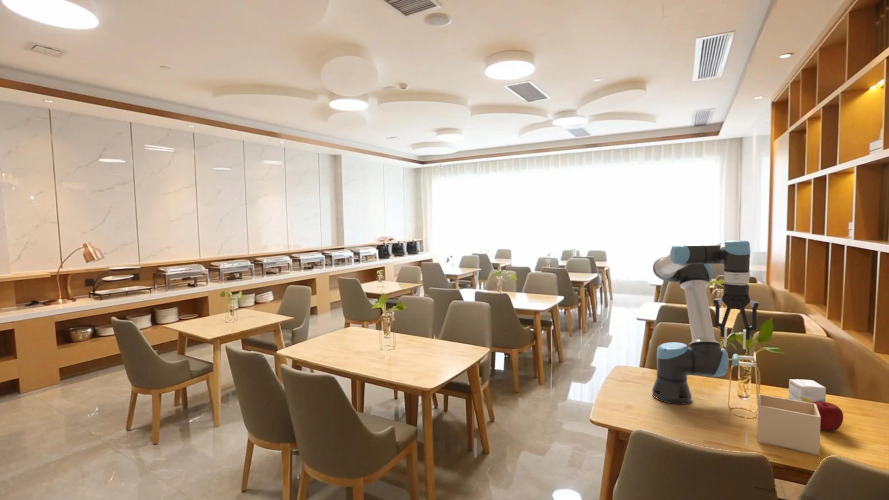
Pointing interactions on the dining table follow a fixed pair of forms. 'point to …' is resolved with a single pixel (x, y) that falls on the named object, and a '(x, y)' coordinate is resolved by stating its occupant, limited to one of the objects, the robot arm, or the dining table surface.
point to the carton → (788, 424)
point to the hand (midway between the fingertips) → (734, 346)
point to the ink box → (806, 391)
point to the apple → (829, 416)
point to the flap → (736, 362)
